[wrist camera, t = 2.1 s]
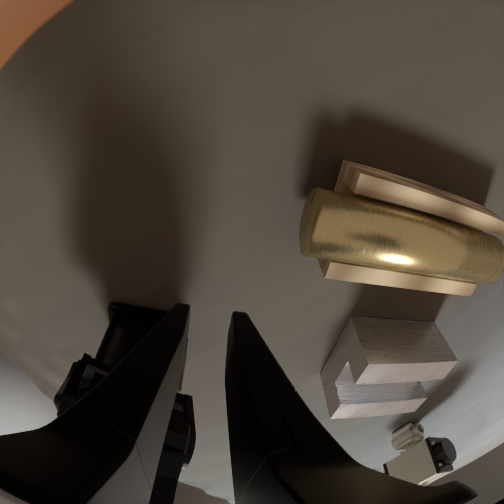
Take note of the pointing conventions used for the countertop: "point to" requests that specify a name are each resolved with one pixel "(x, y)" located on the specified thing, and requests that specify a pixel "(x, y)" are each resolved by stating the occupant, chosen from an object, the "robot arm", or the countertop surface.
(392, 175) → the beam
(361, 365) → the cradle
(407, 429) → the pneumatic valve
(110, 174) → the countertop surface
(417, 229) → the axle
